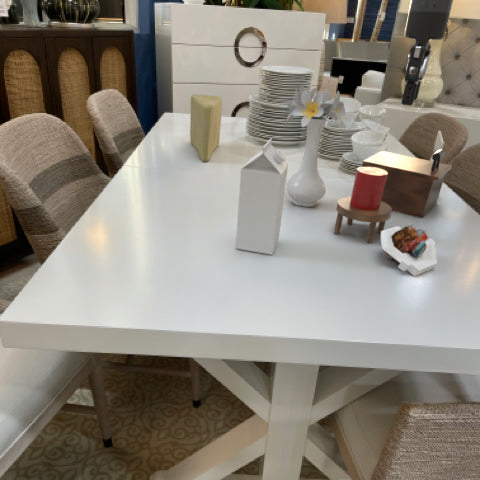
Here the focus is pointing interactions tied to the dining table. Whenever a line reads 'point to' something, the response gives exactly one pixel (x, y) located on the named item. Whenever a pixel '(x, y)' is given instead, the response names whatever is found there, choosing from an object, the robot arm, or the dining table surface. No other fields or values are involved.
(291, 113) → the flower vase
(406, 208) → the chest
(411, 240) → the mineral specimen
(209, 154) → the cheese
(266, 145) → the milk carton
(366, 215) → the stool
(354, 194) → the can
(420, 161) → the lid
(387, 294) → the dining table surface
